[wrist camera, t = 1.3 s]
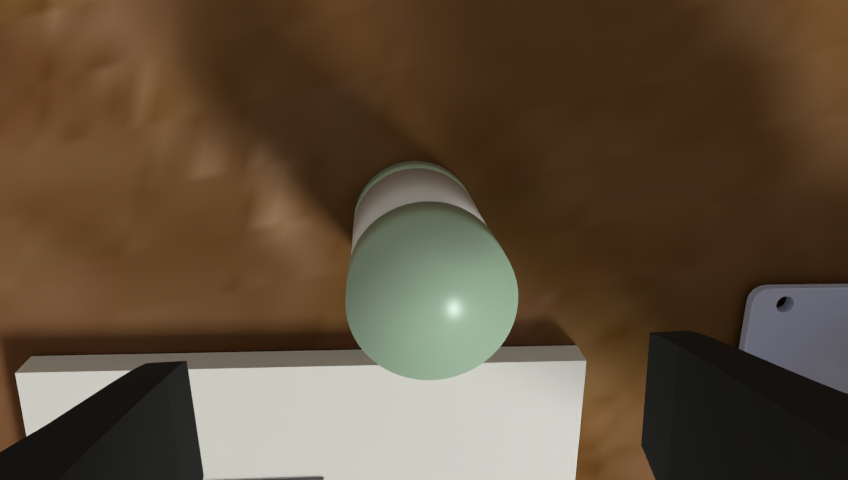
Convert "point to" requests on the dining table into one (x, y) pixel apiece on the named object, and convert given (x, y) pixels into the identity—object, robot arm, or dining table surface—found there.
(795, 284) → the robot arm
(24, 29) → the dining table surface
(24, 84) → the dining table surface
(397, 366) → the green bulb-shaped piece
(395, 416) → the colouring board
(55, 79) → the dining table surface
